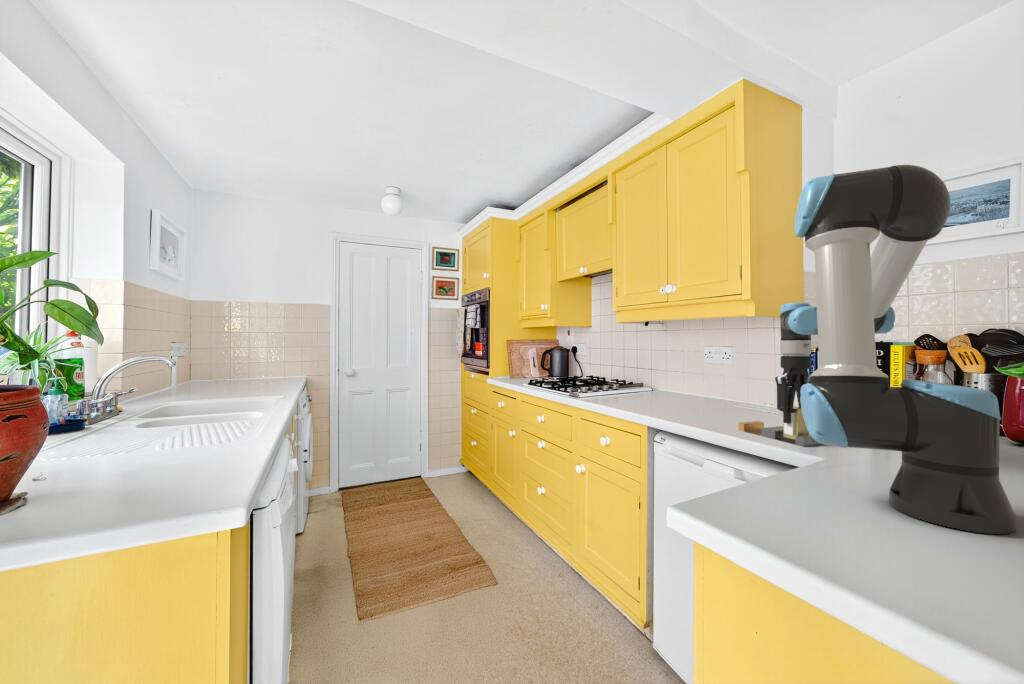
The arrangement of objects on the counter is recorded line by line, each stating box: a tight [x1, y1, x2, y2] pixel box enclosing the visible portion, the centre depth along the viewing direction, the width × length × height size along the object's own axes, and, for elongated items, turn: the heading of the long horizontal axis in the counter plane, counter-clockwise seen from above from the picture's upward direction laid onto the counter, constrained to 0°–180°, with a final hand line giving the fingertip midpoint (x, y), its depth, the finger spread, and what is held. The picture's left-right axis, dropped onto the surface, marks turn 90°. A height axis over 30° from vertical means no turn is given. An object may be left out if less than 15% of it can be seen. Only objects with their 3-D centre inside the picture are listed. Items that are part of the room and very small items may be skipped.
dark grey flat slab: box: [737, 420, 825, 448], centre depth 125 cm, size 8×22×3 cm, turn 17°
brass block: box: [782, 405, 810, 440], centre depth 120 cm, size 4×4×9 cm
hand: (795, 433), depth 120 cm, fingers closed on brass block, 4 cm apart
